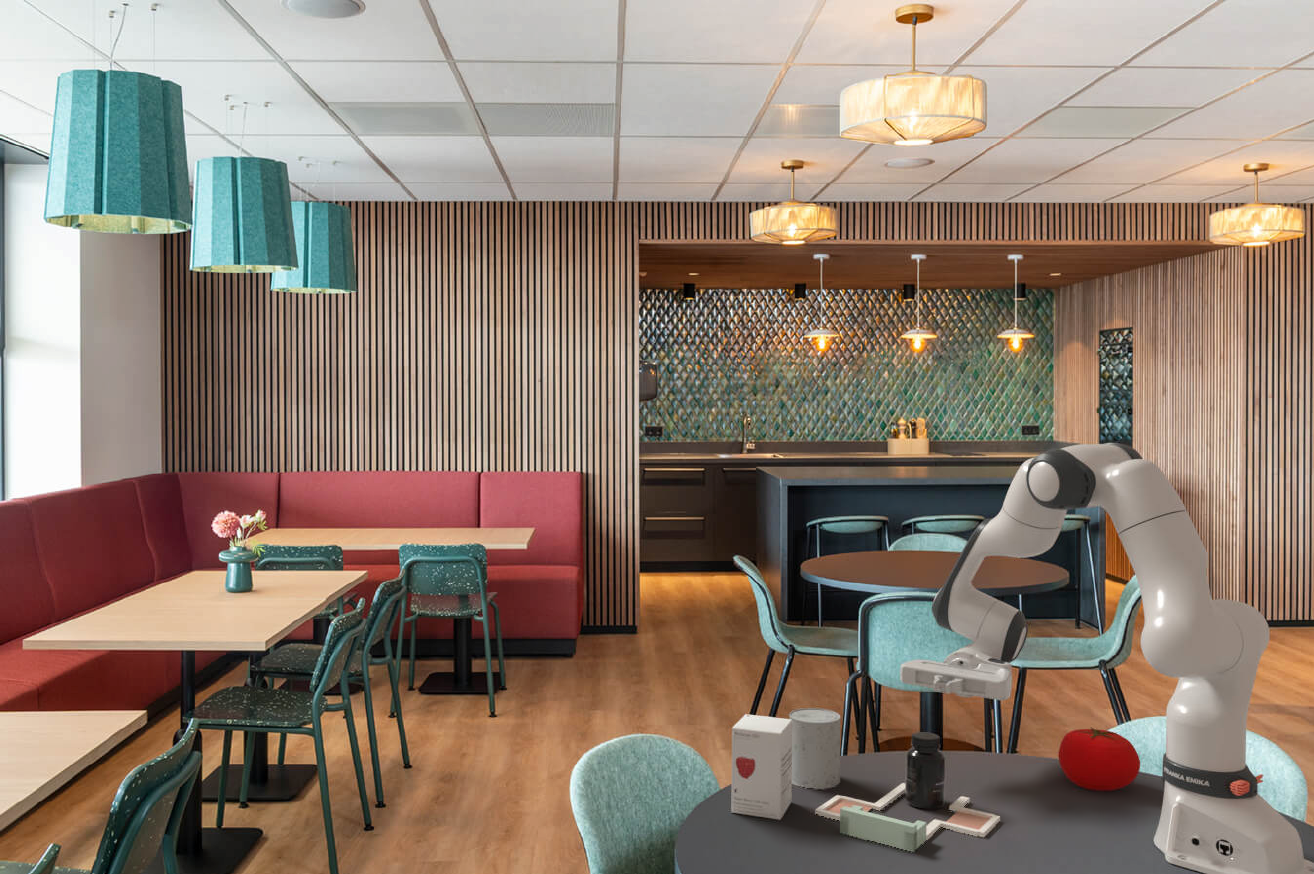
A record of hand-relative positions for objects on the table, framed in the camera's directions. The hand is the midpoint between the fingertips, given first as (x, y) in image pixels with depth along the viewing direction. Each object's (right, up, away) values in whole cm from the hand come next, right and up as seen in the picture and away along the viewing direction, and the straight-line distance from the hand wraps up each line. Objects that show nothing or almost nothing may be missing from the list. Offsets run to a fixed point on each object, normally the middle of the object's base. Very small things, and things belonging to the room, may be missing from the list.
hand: (940, 687), depth 184 cm
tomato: (+30, -19, +3) cm, 36 cm away
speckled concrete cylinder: (-22, -19, +5) cm, 30 cm away
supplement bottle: (-4, -19, -6) cm, 21 cm away
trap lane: (-9, -19, -12) cm, 24 cm away
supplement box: (-34, -19, -8) cm, 40 cm away
